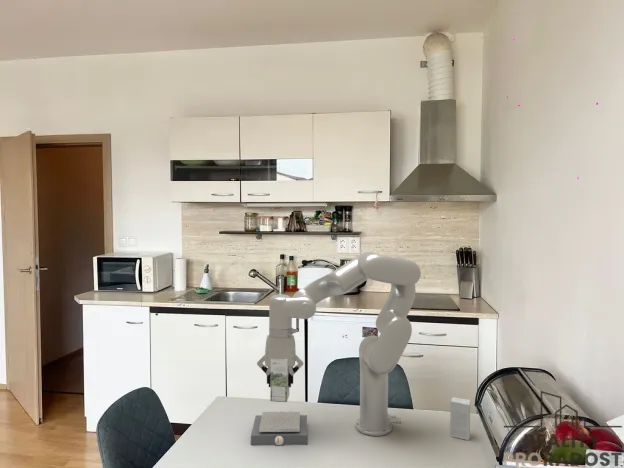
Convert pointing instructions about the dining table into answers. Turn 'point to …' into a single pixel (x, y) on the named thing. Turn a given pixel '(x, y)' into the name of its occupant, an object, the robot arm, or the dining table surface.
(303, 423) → the base
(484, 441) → the dining table surface
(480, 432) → the dining table surface
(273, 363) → the syrup box
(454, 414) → the skincare box
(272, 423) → the pan
